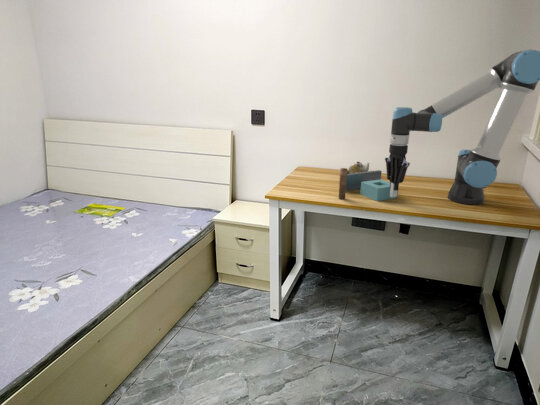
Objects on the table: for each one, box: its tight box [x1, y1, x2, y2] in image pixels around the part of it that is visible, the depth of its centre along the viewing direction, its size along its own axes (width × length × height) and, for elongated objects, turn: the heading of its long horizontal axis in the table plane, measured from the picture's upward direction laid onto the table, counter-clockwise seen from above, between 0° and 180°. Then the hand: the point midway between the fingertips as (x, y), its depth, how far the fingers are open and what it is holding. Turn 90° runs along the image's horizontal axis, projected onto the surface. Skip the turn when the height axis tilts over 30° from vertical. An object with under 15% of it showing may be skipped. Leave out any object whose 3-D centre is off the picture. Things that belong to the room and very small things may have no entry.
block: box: [359, 178, 399, 202], centre depth 185 cm, size 12×12×6 cm
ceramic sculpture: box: [347, 161, 370, 174], centre depth 220 cm, size 11×9×15 cm
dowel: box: [338, 167, 348, 200], centre depth 180 cm, size 3×3×14 cm
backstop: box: [338, 169, 382, 192], centre depth 196 cm, size 2×24×8 cm, turn 115°
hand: (393, 196), depth 177 cm, fingers closed
